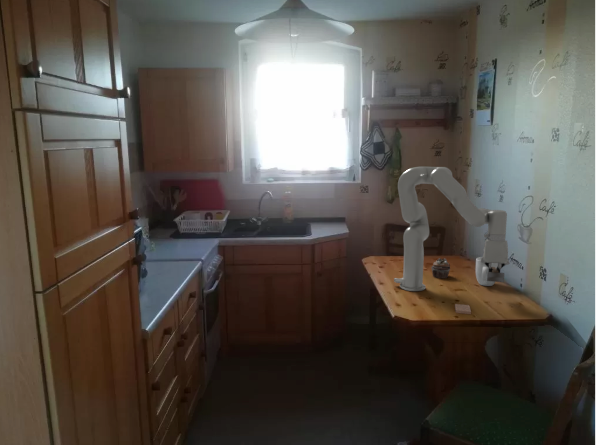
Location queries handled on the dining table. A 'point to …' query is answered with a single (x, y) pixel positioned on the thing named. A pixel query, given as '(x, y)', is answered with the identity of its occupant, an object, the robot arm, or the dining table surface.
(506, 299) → the dining table surface
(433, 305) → the dining table surface
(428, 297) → the dining table surface
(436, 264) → the cupcake
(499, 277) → the scraper
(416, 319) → the dining table surface
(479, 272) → the mug
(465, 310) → the tile
